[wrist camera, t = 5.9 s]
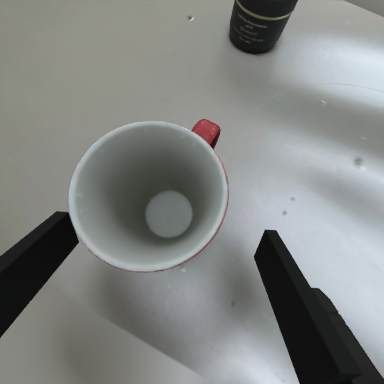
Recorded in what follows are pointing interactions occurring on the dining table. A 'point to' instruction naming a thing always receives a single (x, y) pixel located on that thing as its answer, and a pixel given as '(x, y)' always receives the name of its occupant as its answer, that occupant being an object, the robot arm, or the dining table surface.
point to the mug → (149, 194)
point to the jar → (259, 23)
